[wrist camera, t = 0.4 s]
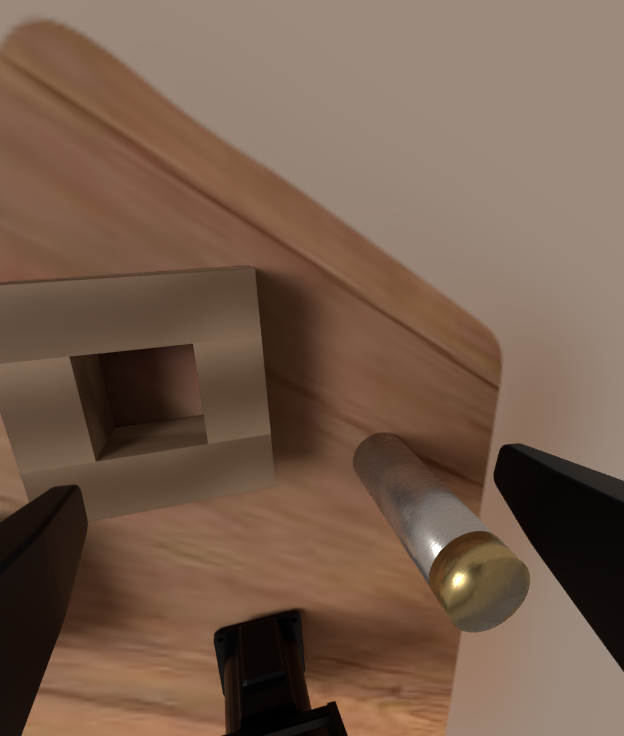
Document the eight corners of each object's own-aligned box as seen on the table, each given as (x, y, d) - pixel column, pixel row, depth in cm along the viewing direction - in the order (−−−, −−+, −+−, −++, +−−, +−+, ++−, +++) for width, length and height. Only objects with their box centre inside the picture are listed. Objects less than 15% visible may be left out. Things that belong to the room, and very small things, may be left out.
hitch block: (266, 452, 26) (275, 486, 22) (66, 486, 23) (38, 531, 19) (247, 265, 22) (254, 268, 18) (8, 281, 19) (-40, 288, 16)
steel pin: (404, 477, 29) (524, 618, 18) (353, 487, 28) (446, 642, 17) (405, 428, 28) (535, 547, 17) (352, 437, 27) (451, 569, 16)
